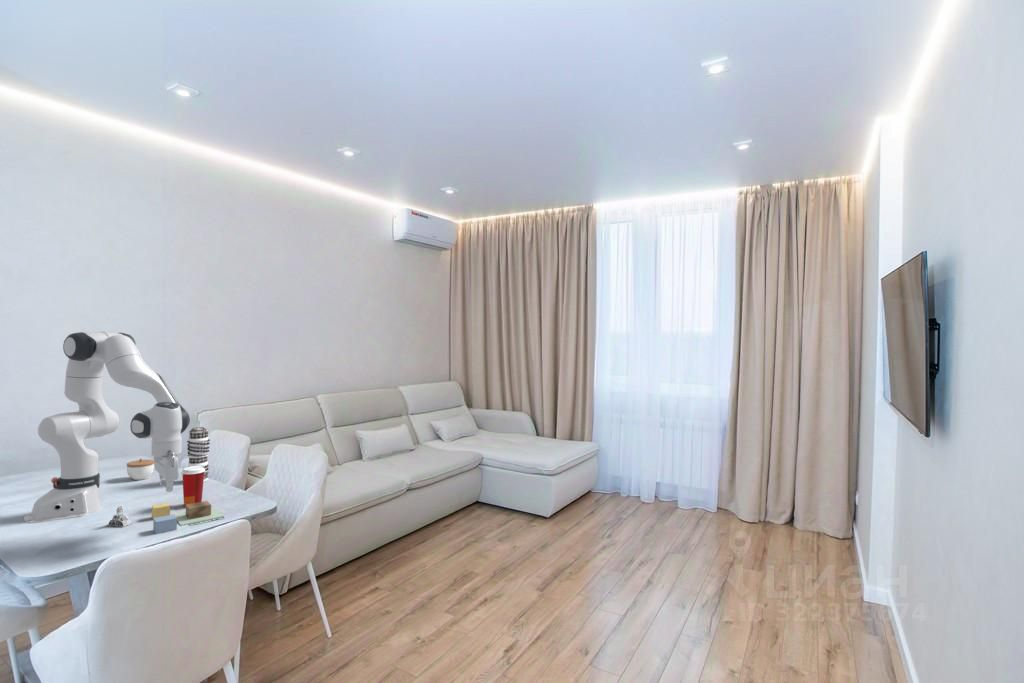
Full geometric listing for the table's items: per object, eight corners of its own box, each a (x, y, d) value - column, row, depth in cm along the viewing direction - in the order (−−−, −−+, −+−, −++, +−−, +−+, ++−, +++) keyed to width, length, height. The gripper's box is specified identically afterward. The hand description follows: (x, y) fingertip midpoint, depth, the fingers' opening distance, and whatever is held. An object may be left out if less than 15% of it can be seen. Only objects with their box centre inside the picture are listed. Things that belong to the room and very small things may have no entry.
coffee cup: (201, 500, 211) (202, 464, 211) (206, 505, 205) (207, 468, 205) (178, 504, 205) (178, 467, 205) (182, 509, 199) (183, 471, 199)
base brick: (189, 519, 186) (189, 508, 186) (185, 515, 191) (185, 504, 191) (210, 515, 191) (211, 504, 191) (206, 511, 196) (206, 500, 196)
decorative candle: (207, 482, 237) (208, 429, 236) (184, 483, 233) (185, 430, 233) (210, 477, 245) (212, 425, 245) (188, 478, 242) (189, 426, 242)
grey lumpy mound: (148, 522, 186) (148, 502, 186) (125, 531, 178) (126, 509, 177) (128, 520, 188) (128, 499, 188) (105, 528, 179) (105, 507, 179)
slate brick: (156, 536, 173) (156, 522, 173) (153, 532, 177) (153, 518, 177) (176, 532, 177) (176, 518, 177) (173, 528, 181) (173, 514, 181)
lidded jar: (122, 478, 239) (123, 459, 239) (148, 474, 248) (149, 455, 248) (131, 482, 233) (131, 462, 233) (158, 478, 242) (158, 458, 242)
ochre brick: (153, 521, 186) (154, 508, 186) (151, 518, 189) (151, 505, 189) (169, 518, 190) (170, 505, 190) (167, 515, 193) (167, 502, 193)
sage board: (180, 527, 181) (181, 524, 181) (172, 517, 191) (172, 514, 191) (224, 518, 191) (224, 515, 191) (213, 509, 201) (213, 506, 201)
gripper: (184, 452, 172) (183, 492, 172) (171, 443, 186) (170, 480, 186) (162, 455, 167) (161, 496, 167) (150, 445, 182) (150, 483, 182)
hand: (166, 488), depth 177 cm, fingers open, 8 cm apart
